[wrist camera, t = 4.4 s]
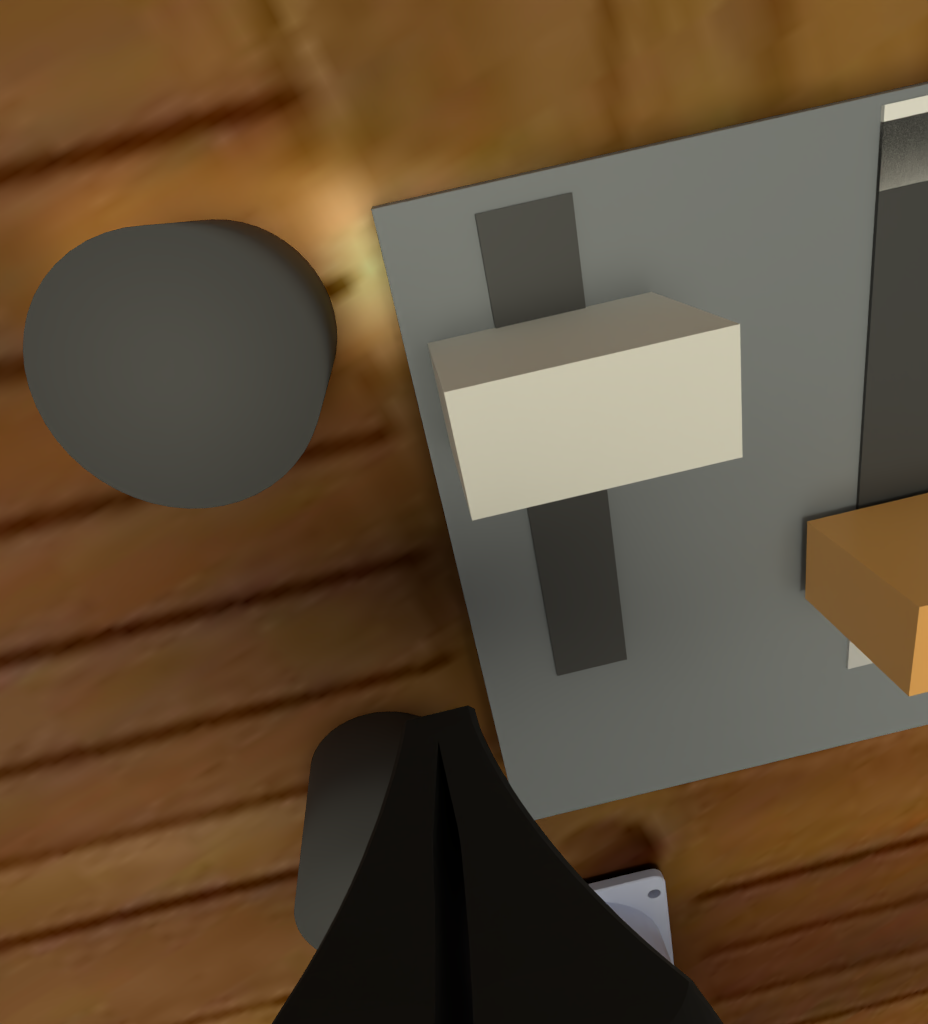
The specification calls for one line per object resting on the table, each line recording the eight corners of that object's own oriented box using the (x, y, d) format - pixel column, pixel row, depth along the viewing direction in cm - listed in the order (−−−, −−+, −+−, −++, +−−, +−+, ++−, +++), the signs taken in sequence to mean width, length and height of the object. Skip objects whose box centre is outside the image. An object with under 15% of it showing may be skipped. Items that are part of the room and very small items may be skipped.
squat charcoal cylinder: (357, 409, 18) (351, 479, 13) (166, 447, 17) (93, 531, 13) (306, 201, 16) (278, 198, 11) (88, 241, 15) (-32, 257, 11)
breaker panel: (947, 656, 24) (1132, 807, 18) (504, 763, 24) (547, 951, 18) (1035, 57, 16) (1416, -20, 10) (372, 206, 16) (370, 215, 10)
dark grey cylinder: (471, 802, 24) (492, 940, 20) (334, 835, 24) (324, 981, 20) (441, 696, 22) (457, 824, 18) (291, 731, 22) (269, 870, 18)
